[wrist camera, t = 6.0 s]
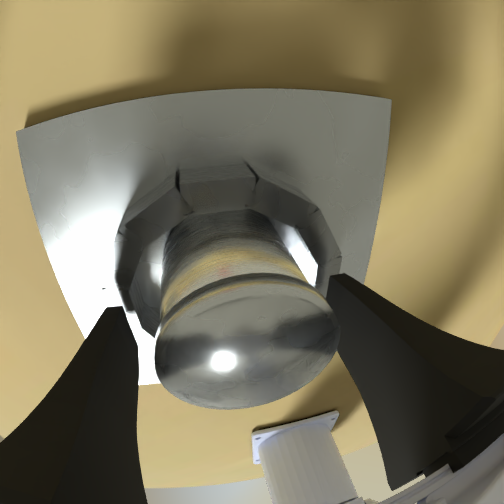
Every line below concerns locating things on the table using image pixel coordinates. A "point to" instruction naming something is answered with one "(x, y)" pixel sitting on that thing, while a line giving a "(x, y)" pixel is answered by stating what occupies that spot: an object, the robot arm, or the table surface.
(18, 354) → the table surface
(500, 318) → the table surface
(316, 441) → the robot arm
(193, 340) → the round metal knob
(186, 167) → the flange plate
